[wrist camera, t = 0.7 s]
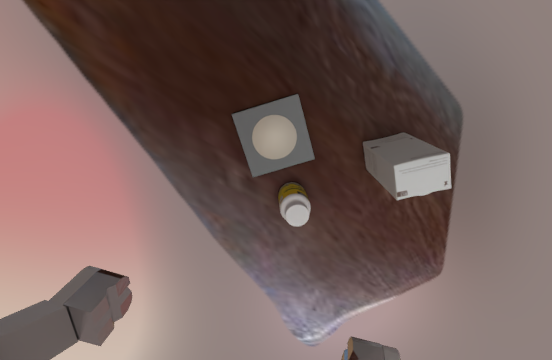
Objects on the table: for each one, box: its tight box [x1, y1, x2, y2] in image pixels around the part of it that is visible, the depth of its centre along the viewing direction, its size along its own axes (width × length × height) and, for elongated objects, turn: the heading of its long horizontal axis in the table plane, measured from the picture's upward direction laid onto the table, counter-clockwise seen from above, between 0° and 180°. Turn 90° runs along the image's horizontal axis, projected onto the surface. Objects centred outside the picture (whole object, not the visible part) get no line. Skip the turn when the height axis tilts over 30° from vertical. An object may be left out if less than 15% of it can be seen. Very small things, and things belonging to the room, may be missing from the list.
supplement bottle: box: [278, 182, 311, 226], centre depth 52 cm, size 5×5×10 cm
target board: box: [232, 94, 315, 177], centre depth 52 cm, size 12×12×1 cm
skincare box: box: [363, 133, 451, 200], centre depth 48 cm, size 8×6×15 cm
